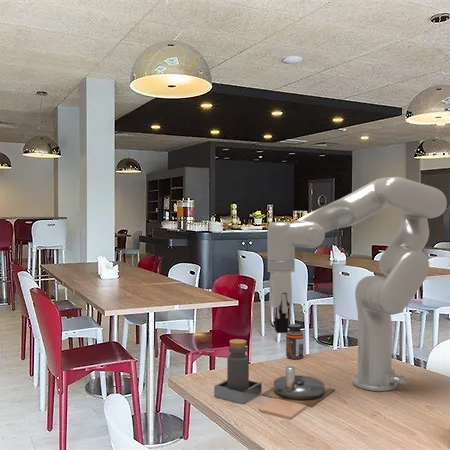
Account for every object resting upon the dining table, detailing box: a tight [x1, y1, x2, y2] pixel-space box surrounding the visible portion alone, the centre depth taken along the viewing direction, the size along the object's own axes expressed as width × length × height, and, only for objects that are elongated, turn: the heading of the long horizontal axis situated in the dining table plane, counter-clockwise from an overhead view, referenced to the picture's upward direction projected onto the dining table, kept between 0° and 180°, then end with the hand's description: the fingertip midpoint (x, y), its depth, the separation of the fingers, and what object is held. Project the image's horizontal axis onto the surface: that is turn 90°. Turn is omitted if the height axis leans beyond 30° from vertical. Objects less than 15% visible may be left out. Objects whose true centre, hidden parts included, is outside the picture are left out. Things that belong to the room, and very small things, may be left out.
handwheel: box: [273, 365, 325, 400], centre depth 140 cm, size 14×14×8 cm
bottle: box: [226, 338, 250, 391], centre depth 139 cm, size 6×6×15 cm
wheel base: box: [261, 386, 336, 408], centre depth 140 cm, size 15×15×1 cm
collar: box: [213, 379, 263, 405], centre depth 139 cm, size 9×9×3 cm
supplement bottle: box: [285, 323, 304, 360], centre depth 175 cm, size 6×6×11 cm
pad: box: [258, 398, 308, 420], centre depth 129 cm, size 9×9×1 cm
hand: (281, 331), depth 141 cm, fingers closed
